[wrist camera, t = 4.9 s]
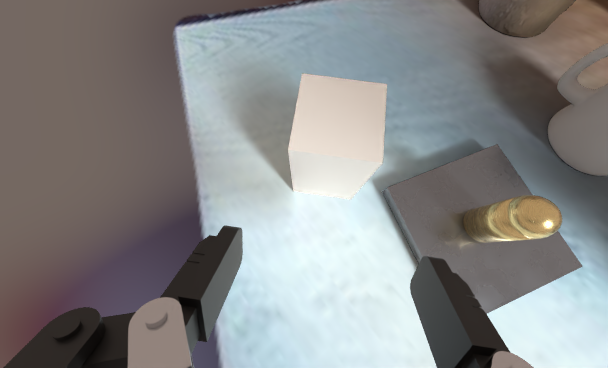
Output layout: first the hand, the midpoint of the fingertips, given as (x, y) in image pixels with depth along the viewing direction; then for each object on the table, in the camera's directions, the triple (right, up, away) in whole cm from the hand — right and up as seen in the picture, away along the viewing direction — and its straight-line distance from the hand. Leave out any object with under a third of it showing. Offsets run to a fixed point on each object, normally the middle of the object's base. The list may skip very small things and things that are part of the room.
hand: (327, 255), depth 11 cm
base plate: (+16, -1, +13) cm, 20 cm away
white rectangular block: (+1, +5, +15) cm, 16 cm away
